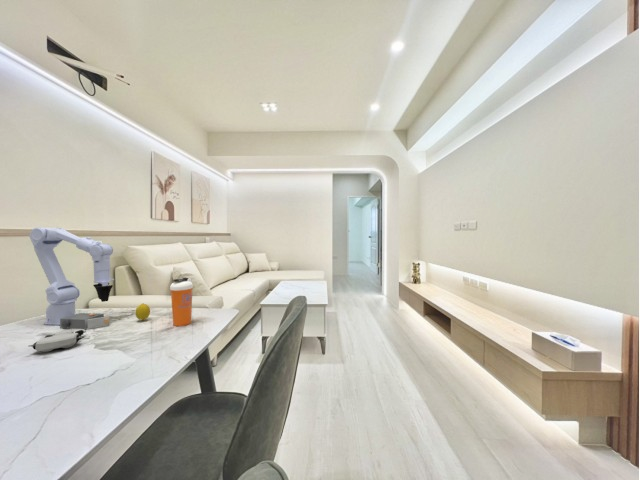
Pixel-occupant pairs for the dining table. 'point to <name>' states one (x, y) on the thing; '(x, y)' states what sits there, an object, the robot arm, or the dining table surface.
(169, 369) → the dining table surface
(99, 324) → the door
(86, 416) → the dining table surface
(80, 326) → the case
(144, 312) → the lemon
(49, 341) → the robot toy
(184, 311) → the shaker bottle
